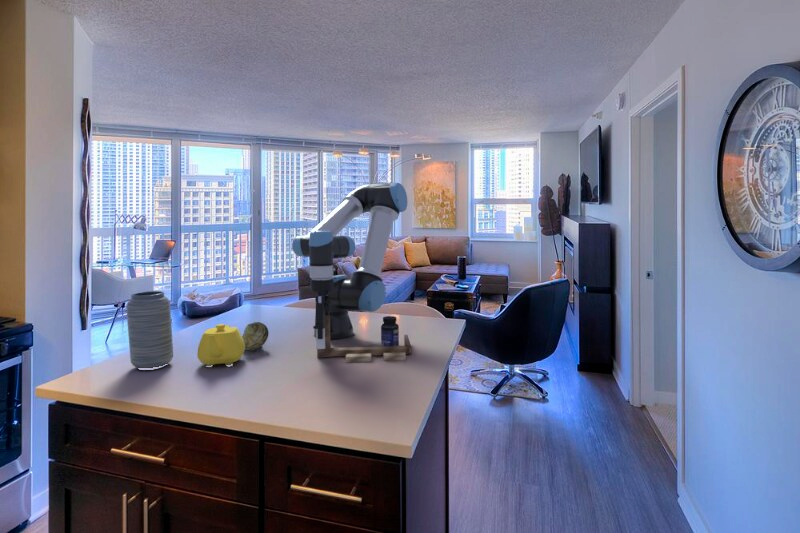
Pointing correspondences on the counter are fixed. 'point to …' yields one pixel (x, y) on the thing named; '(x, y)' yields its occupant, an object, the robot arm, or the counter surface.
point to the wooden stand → (358, 350)
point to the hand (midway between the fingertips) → (323, 342)
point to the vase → (149, 329)
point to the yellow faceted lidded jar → (221, 345)
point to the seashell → (255, 335)
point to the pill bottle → (389, 332)
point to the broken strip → (368, 357)
